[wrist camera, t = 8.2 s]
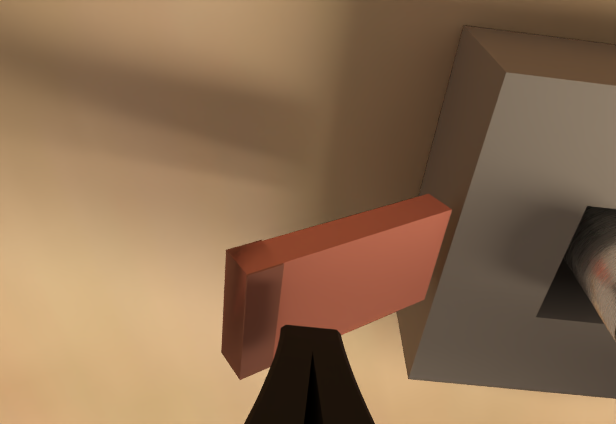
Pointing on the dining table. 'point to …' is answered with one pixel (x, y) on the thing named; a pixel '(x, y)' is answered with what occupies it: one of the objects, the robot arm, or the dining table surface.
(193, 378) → the dining table surface
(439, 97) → the dining table surface
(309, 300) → the bar
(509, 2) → the dining table surface
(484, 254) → the pin block
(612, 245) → the pin
